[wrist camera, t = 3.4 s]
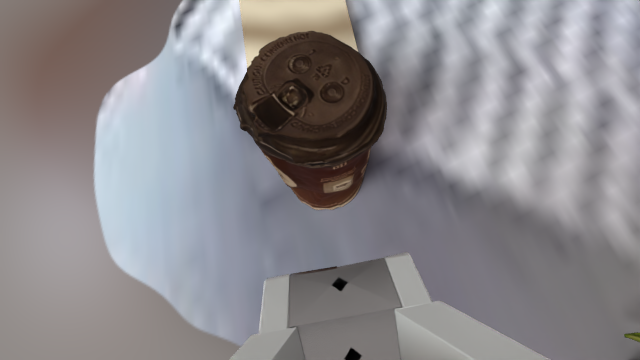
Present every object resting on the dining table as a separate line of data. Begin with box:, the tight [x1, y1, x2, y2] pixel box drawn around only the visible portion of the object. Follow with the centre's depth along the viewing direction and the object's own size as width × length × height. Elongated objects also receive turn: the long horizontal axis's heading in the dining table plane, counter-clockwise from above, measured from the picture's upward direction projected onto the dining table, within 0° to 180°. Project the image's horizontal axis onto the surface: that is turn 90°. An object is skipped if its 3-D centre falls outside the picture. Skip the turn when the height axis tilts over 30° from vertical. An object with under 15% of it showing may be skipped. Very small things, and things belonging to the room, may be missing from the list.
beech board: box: [239, 0, 358, 68], centre depth 39 cm, size 18×10×1 cm, turn 10°
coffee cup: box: [233, 31, 387, 210], centre depth 28 cm, size 9×8×13 cm
